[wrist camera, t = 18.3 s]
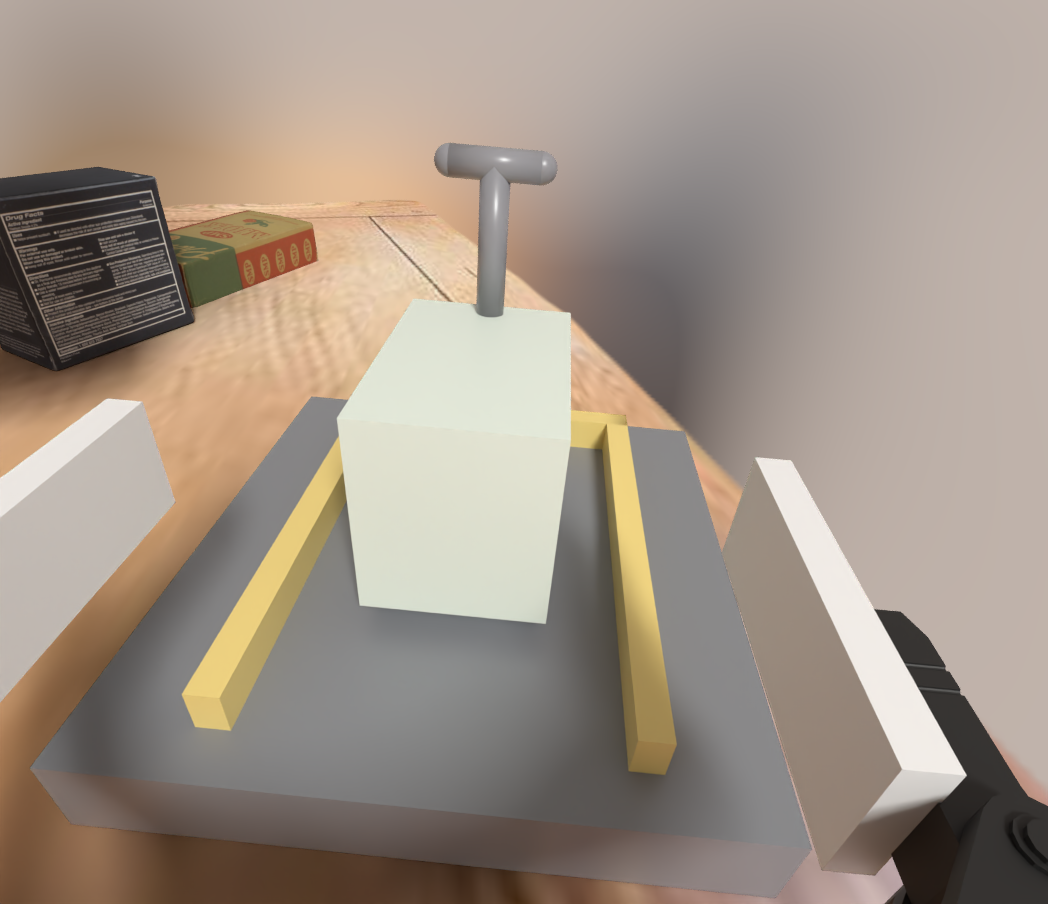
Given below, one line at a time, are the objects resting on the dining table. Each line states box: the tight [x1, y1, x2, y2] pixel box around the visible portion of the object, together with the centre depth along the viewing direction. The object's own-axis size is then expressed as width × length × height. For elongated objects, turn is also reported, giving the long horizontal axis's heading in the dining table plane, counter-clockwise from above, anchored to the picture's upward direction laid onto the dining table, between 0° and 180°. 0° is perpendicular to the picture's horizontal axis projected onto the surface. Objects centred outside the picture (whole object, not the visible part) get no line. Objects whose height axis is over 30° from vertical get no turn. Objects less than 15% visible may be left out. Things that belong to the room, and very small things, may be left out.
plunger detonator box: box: [337, 143, 571, 624], centre depth 20 cm, size 6×9×14 cm, turn 176°
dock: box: [30, 397, 812, 898], centre depth 24 cm, size 20×20×4 cm
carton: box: [169, 211, 318, 308], centre depth 55 cm, size 8×16×4 cm, turn 158°
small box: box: [0, 167, 194, 371], centre depth 40 cm, size 11×6×10 cm, turn 153°
